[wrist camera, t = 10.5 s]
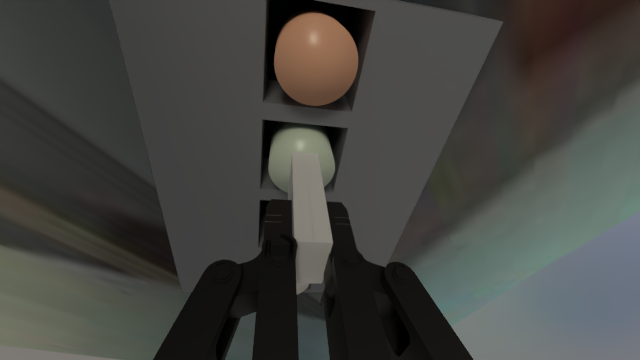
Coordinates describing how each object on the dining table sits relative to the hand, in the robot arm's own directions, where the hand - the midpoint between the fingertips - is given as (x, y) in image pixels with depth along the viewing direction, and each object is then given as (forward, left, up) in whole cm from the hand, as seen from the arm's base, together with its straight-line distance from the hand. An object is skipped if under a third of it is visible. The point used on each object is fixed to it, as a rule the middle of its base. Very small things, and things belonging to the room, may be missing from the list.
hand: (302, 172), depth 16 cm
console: (0, -3, -5) cm, 6 cm away
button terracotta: (0, +6, -4) cm, 7 cm away
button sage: (0, 0, -4) cm, 4 cm away
